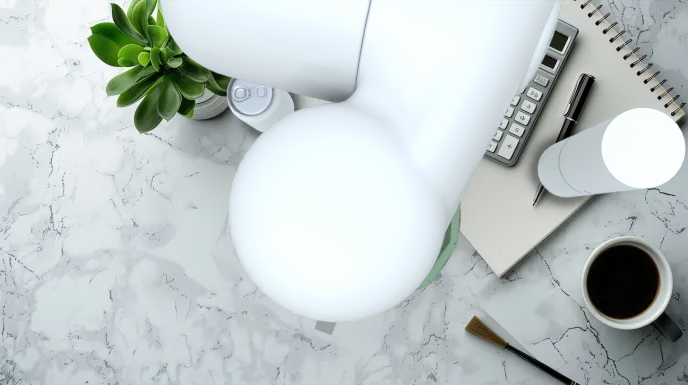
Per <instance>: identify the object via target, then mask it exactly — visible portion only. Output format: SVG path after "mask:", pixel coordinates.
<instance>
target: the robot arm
mask: <svg viewBox="0 0 688 385" xmlns="http://www.w3.org/2000/svg"><path fill="white" fill-rule="evenodd" d="M159 2H160V3H159V4H160V6H161V11H162V14H163V19H164V23H165V25H166V28H167V29H168V32H169V35H170V36H171V37H172V39H173V41H174V43H176V45H177V47H179V49H180V51H181V52H183V53H184V54H185V55H186V56H187V57H188V58H189V59H190V60H192V61H194V62H195V63H197V64H198V65H200V66H202V67H203V68H205V69H207V70H209V71H211V72H214V73H216V74H219V75H222V76H226V77H228V78H231V79H232V78H235V79H239V80H243V81H247V82H251V83H255V84H259V85H263V86H267V87H271V88H275V89H280V90H284V91H287V92H288V93H292V94H296V95H299V96H300V95H301V96H304V97H307V98H313V99H317V100H322V101H325V102H326V103H325V102H324V103H319V104H314V105H310V106H307V107H304V108H300V109H298V110H294V112H293V113H291V114H289V115H287V116H286V117H284V118H282V119H280V120H279V121H277V122H275V123H274V124H273V125H272V126H270V127H269V128H268V129H267V130H265V131H264V132H261V134H259V136H258V137H257V138H256V139H255V140H254V141H253V142H252V143H251V145H250V146H249V147H248V149H247V150H246V152H245V154H244V155H243V157H242V159H241V161H240V162H239V164H238V166H237V169H236V171H235V174H234V177H233V180H232V183H231V187H230V192H229V198H228V225H229V234H230V238H231V241H232V244H233V246H234V250H235V253H236V255H237V258H238V260H239V262H240V264H241V266H242V269H243V270H244V271H245V273H246V274H247V276H248V277H249V279H250V280H251V281H252V283H253V284H254V285H255V286H256V287H257V288H258V289H259V290H260V292H262V293H263V294H264V296H266V297H267V298H268V299H270V300H272V301H273V302H274V303H276V304H277V305H278V306H280V307H281V308H284V309H285V310H287V311H288V312H290V313H293V314H296V315H297V316H301V317H304V318H307V319H311V320H314V321H316V323H315V327H314V330H316V331H318V332H321V333H324V334H326V335H329V336H333V333H334V331H335V328H336V326H337V323H350V322H357V321H362V320H367V319H369V318H373V317H375V316H378V315H382V314H383V313H385V312H387V311H389V310H391V309H392V308H395V307H396V306H398V305H400V303H401V302H403V301H404V300H406V299H407V298H408V297H409V296H411V295H412V294H413V293H414V291H415V290H416V289H417V288H418V287H419V286H420V284H421V283H422V282H423V281H424V280H425V278H426V277H427V275H428V274H429V272H430V271H431V269H432V267H433V266H434V264H435V262H436V260H437V257H438V255H439V253H440V250H441V247H442V244H443V240H444V236H445V232H446V230H447V228H448V226H449V224H450V222H451V220H452V218H453V216H454V213H455V211H456V209H457V207H458V205H459V203H460V201H461V202H462V199H463V197H464V195H465V193H466V191H467V189H468V187H469V185H470V183H471V182H472V179H473V177H474V175H475V174H476V172H477V170H478V168H479V166H480V164H481V162H482V160H483V158H484V156H485V154H486V152H487V150H488V148H489V146H490V144H491V142H492V140H493V138H494V137H495V135H496V133H497V131H498V129H499V127H500V125H501V123H502V121H503V119H504V118H505V116H506V114H507V112H508V110H509V108H510V107H511V105H512V103H513V100H514V99H515V98H517V97H519V96H520V94H522V92H523V91H525V90H526V88H527V87H528V85H529V84H530V83H531V81H532V80H533V78H534V77H535V75H536V73H537V72H538V70H539V68H540V67H541V64H542V62H543V60H544V58H545V56H546V54H547V52H548V49H549V47H550V45H551V42H552V40H553V37H554V34H555V31H556V29H557V26H558V23H559V19H560V15H561V10H562V4H563V0H159ZM415 292H416V291H415Z"/></svg>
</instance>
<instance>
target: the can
mask: <svg viewBox="0 0 688 385" xmlns="http://www.w3.org/2000/svg"><path fill="white" fill-rule="evenodd" d="M226 97H227V98H226V100H227V105H228V107H229V109H230V110H231V112H232V114H234V116H236V117H237V118H238V119H239V120H241V121H242V122H244V123H245V124H247V125H248V126H250V127H252V128H253V129H255V130H257V131H258V132H261V133H263V132H264V131H265V130H267V129H268V128H269V127H270V126H272V125H273V124H274V123H275V122H277V121H279V120H280V119H282V118H284V117H286V116H287V115H289V114H291V113H293V112H295V104H294V101H293V98H292V96H291V94H290V93H289V92H288V91H284V90H280V89H275V88H271V87H267V86H263V85H259V84H255V83H251V82H247V81H243V80H239V79H235V78H232V77H231V79H230V81H229V82H228V85H227V88H226Z"/></svg>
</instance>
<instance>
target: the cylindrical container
mask: <svg viewBox="0 0 688 385" xmlns="http://www.w3.org/2000/svg"><path fill="white" fill-rule="evenodd" d="M685 156H686V141H685V137H684V134H683V132H682V130H681V128H680V127H679V125H678V123H676V122H675V120H674V119H672V117H671V116H669V115H668V114H666V113H664V112H662V111H660V110H658V109H654V108H650V107H638V108H632V109H629V110H626V111H623V112H621V113H619V114H617V115H615V116H613V117H610V118H608V119H606V120H604V121H602V122H599V123H597V124H595V125H593V126H591V127H589V128H587V129H584V130H581V131H580V132H578V133H576V134H575V133H574V134H573V135H571V136H569V137H567V138H564V139H562V140H560V141H558V142H556V143H553V144H552V145H550V146H548V147H547V148H546V149H545V150H544V151H543V153H542V154H541V155H540V158H539V160H538V163H537V175H538V178H539V181H540V183H541V184H542V186H543V187H544V189H545V190H547V191H548V192H549V193H551V194H552V195H554V196H557V197H560V198H573V197H583V196H591V195H592V196H593V195H600V194H608V193H617V192H626V191H635V190H644V189H651V188H652V189H653V188H656V187H659V186H661V185H663V184H666V183H668V182H669V181H670V180H671V179H672V178H673V177H675V175H677V173H678V172H679V170H680V169H681V167H682V164H683V163H684V159H685Z"/></svg>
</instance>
